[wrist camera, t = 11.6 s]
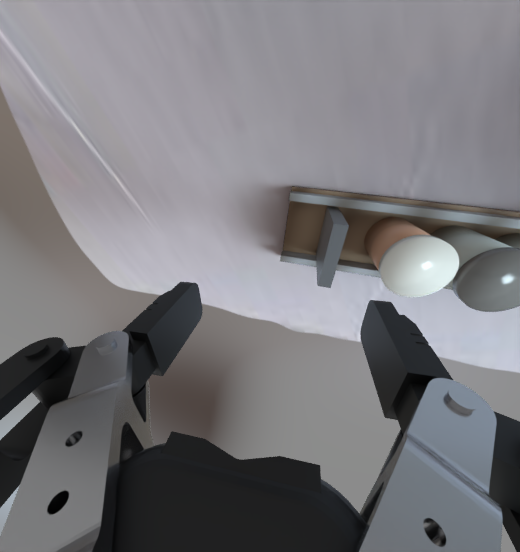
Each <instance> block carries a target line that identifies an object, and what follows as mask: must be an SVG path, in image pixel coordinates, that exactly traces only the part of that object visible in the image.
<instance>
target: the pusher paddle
mask: <svg viewBox="0 0 520 552" xmlns="http://www.w3.org/2000/svg"><path fill="white" fill-rule="evenodd" d="M348 227H349V225H348V223H347V222H346V220H345V218H344V216H343V215H342V213H341V211H340V210H339V208H338V207H334V206H327V209H326V213H325V217H324V221H323V226H322V230H321V234H320V239H319V243H318V247H317V251H316V265H317V284H318V286H322V287H328V288H331V284H332V281H333V278H334V274H335V271H336V268H337V264H338V261H339V257H340V254H341V251H342V247H343V244H344V241H345V237H346V234H347V231H348Z"/></svg>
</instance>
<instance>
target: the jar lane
mask: <svg viewBox="0 0 520 552" xmlns="http://www.w3.org/2000/svg"><path fill="white" fill-rule="evenodd" d="M289 201H290V204H289V211H288V217H287V224H286V231H285V238H284V245H283V251H282V254H281V259H280V261H282V262H288V263H295V264H301V265H307V266H313V267H317V265H316V251H317V247H318V243H319V239H320V234H321V230H322V226H323V221H324V217H325V213H326V209H327V206H334V207H338V208H339V210H340V211H341V213H342V215H343V216H344V218H345V220H346V222H347V223H348V225H349V227H348V231H347V234H346V237H345V241H344V244H343V247H342V251H341V254H340V257H339V261H338V264H337V268H336V270H337V271H343V272H349V273H355V274H361V275H367V276H373V277H379V278H380V275H379V271H378V269H377V268H376V266H375V264H374V263H373V261H372V259H371V258H370V256H369V254H368V253H367V251H366V249H365V245H364V239H365V236H366V233H367V232H368V230H369V229H370V228H371V226H372V225H374V224H375V223H376V222H378V221H380V220H382V219H384V218H388V217H400V218H404V219H406V220H407V221H409V222H411V223H412V224H414V225H415V226H417V227H419V228H420V229H422V230H423V231H425V232H427V233H428V234H431V233H433V232H434V231H436V230H438V229H440V228H443V227H446V226H452V225H458V226H464V227H466V228H469V229H471V230H473V231H476V232H478V233H480V234H483V235H485V236H487V237H490V238H492V239H496V238H498V237H500V236H503V235H507V234H513V233H520V212H517V211H508V210H500V209H491V208H482V207H473V206H464V205H455V204H446V203H437V202H428V201H420V200H411V199H402V198H393V197H384V196H375V195H366V194H357V193H348V192H340V191H331V190H322V189H313V188H304V187H295V186H292V190H291V192H290V197H289ZM443 288H445V289H451V288H450V287H449V286H448V285H446V286H445V287H443Z"/></svg>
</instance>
